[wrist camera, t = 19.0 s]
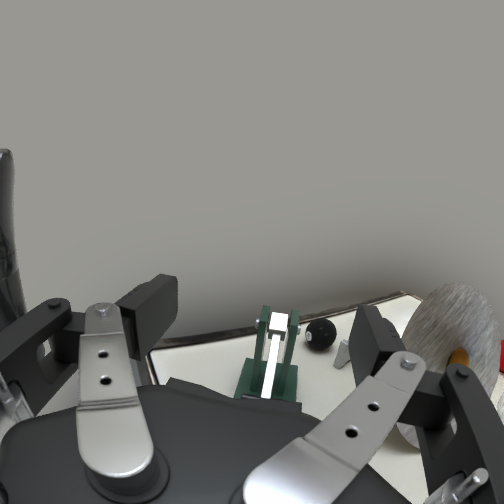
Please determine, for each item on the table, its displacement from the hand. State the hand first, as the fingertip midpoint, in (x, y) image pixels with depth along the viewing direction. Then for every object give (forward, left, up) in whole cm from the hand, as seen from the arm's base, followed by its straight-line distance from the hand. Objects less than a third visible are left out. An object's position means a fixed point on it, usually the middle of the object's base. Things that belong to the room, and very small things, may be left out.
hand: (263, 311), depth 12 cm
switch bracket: (+5, +22, -26) cm, 34 cm away
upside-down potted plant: (+31, +15, -26) cm, 43 cm away
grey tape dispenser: (+22, +31, -26) cm, 46 cm away
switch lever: (+4, +18, -17) cm, 25 cm away
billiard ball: (+16, +35, -26) cm, 47 cm away
